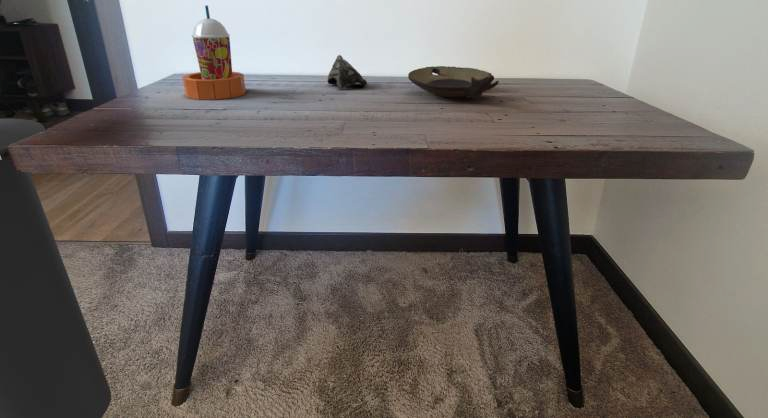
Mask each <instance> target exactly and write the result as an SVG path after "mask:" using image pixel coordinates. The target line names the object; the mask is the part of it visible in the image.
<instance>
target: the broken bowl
mask: <svg viewBox="0 0 768 418" xmlns="http://www.w3.org/2000/svg"><path fill="white" fill-rule="evenodd" d="M407 78H408V80H409V81H410V82H411V83H412V84H414V85H415V86H417V87H418V88H420V89H422V90H424V91H426V92H428V93H430V94H433V95H436V96H439V97H444V98H451V99H452V98H453V99H458V98H459V99H460V98H468V97H469V98H471V99H477V98H479V97H481V95H483V94H484V93H485V92H488V91H489V90H492V89H493V88H496V87H497V86H498V85H499V84H500V82H499V81H500V80H496V81H494V80H495V76H494V75H493V74H492V73H491V72H488V71H485V70H482V69H478V68H474V67H461V66H460V67H459V66H458V67H456V66H445V65H437V66H436V65H435V66H425V67H419V68H417V69H414V70H411V71H410V72H409V73H408V74H407ZM493 81H494V82H493Z"/></svg>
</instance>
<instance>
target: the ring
mask: <svg viewBox="0 0 768 418" xmlns="http://www.w3.org/2000/svg"><path fill="white" fill-rule="evenodd" d="M232 76H233V77H231V78H226V79H213V80H202V76H201V72H200V71H197V72H193V73H187V74H185V75H183V76H182V78H181V79H182V84H183V88H184V94H185V96H186V97H187V98H189V99H193V100H202V101H203V100H206V101H207V100H208V101H209V100H211V101H212V100H213V101H214V100H227V99H232V98H236V97H237V98H238V97H241V96H243V95H244V94H246V92H247V91H246V83H245V75H244V74H243V73H241V72H240V71H232Z"/></svg>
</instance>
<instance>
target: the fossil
mask: <svg viewBox="0 0 768 418" xmlns="http://www.w3.org/2000/svg"><path fill="white" fill-rule="evenodd" d="M326 82H327V84H328V85H336V86H337V88H338V90H342V89H344V88H346V87H348V86H354V85H356V84H359V85H361V86H362V87H365V86H366V85H367V84H368V81H367V79H365V78H363V76H362V74H360V73H359V71H358V70H357V69H356V68H354V67H353V65H352V64H351V63H349V62H348V61H347V60H346V59H344V57H343V56H342V55H341V54H338V55H337V56H336V57H335V61H334V63H333V64H332V66H331V69H330V71H329V73H328V75H327V81H326Z"/></svg>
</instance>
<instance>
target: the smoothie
mask: <svg viewBox="0 0 768 418" xmlns="http://www.w3.org/2000/svg"><path fill="white" fill-rule="evenodd" d="M204 7H205V16H206V18H204V19H201V20H200V21H198V22H197V23H196V25H195V26H194V28H193V31H192V32H193V33H192V34H191V37H192V41H193V47H194V49H195V54H196V59H197V63H198V67H199V72H201V76H202V80H213V79H226V78H231V77H233V76H232V72H233V66H232V65H233V64H232V50H231V39H230V34H229V33H228V30H227V28H226V27H225V26H224V25H223V24H222V23H221V22H220V21H218V20H217V19H214V18H210V16H211V15H210V11H209V5H204Z"/></svg>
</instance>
